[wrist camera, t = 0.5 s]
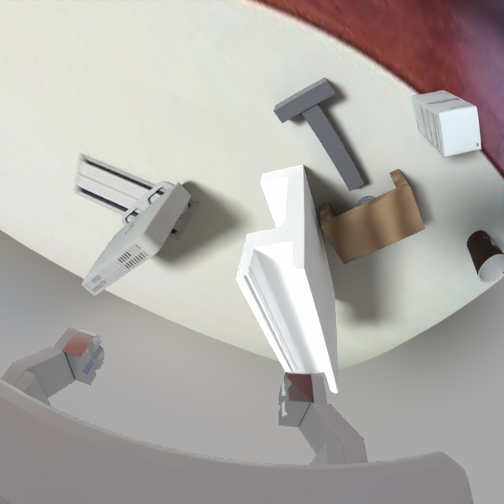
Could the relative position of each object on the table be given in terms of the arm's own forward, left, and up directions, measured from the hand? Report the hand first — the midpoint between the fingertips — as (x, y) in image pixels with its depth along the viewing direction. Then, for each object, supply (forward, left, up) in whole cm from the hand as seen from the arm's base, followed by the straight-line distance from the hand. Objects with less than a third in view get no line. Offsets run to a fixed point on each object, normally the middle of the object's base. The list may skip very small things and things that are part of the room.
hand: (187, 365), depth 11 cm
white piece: (+11, +28, -47) cm, 56 cm away
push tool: (-5, +10, -47) cm, 48 cm away
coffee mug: (-28, +51, -47) cm, 75 cm away
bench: (-5, +27, -46) cm, 54 cm away
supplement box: (-25, +14, -47) cm, 55 cm away
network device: (+36, +4, -47) cm, 59 cm away
